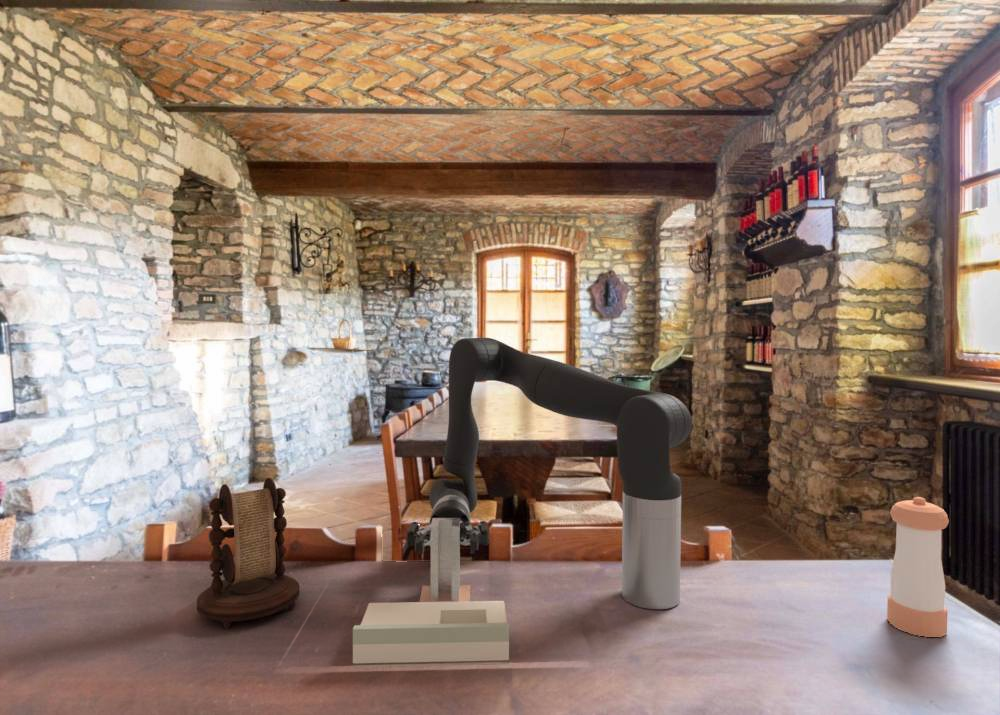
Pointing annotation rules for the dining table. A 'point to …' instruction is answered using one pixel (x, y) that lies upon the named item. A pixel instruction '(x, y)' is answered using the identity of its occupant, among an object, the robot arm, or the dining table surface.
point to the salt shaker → (918, 569)
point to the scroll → (248, 557)
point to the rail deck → (432, 633)
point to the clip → (445, 558)
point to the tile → (445, 594)
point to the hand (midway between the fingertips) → (446, 547)
